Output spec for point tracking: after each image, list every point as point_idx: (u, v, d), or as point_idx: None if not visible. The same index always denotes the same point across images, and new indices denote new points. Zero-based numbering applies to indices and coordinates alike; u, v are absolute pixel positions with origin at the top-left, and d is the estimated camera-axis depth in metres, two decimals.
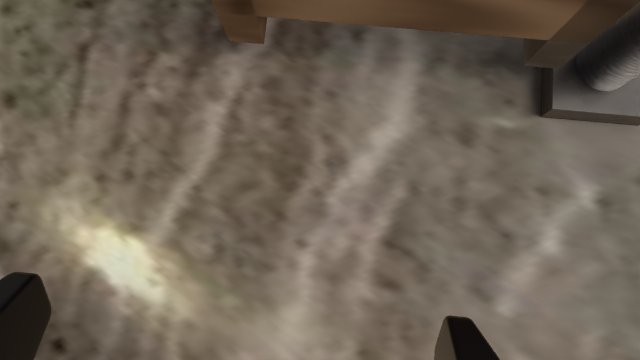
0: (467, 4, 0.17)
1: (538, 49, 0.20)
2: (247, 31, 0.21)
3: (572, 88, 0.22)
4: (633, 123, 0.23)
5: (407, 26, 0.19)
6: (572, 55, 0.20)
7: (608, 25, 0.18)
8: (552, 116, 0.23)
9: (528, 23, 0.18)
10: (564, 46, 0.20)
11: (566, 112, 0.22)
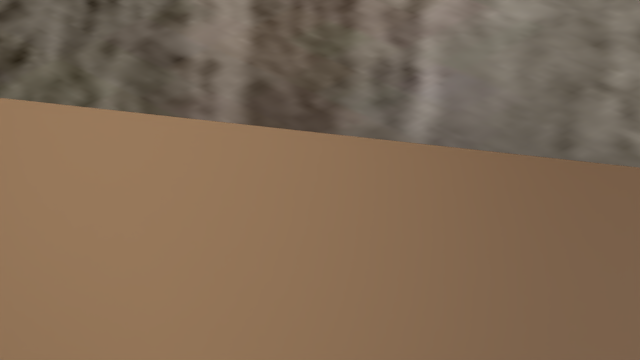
0: None
1: None
2: None
3: None
4: None
5: None
6: None
7: None
8: None
9: None
10: None
11: None
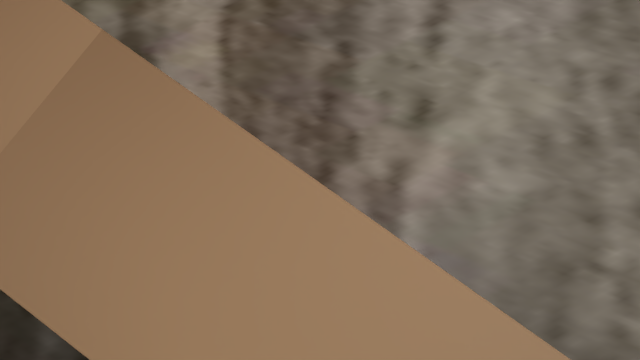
0: None
1: None
2: None
3: None
4: None
5: None
6: None
7: None
8: None
9: None
10: None
11: None
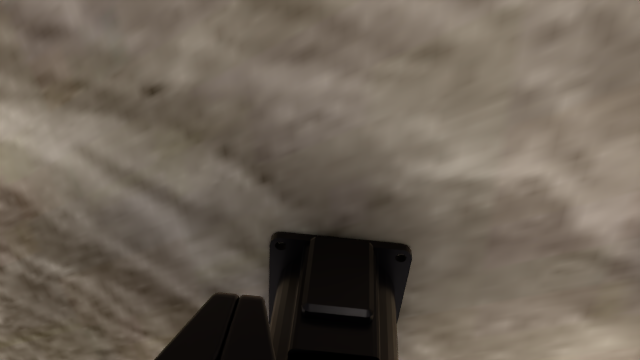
0: None
1: None
2: None
3: None
4: None
5: None
6: None
7: None
8: None
9: None
10: None
11: None
